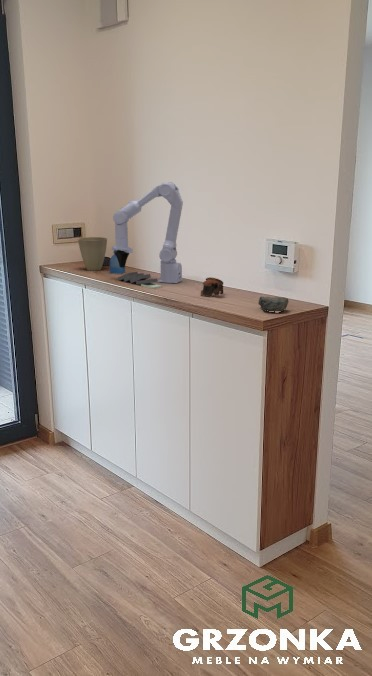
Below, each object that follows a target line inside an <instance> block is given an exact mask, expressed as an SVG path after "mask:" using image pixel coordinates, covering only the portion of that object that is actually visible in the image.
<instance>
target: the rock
mask: <svg viewBox="0 0 372 676" xmlns="http://www.w3.org/2000/svg"><path fill="white" fill-rule="evenodd" d="M258 305H259V306H260V309H261V308H262V309H261V310H263V311H264V310H268V311H274V312H275V311H283V310H284V309H285V310H286V308H287V306H288V305H289V299H288V298H287V297H283V296H282V297H281V296H277V297H276V296H275V297H270V296H260V297H259V299H258ZM285 310H284V311H285ZM284 311H283V312H284Z"/></svg>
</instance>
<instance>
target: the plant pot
mask: <svg viewBox="0 0 372 676" xmlns="http://www.w3.org/2000/svg"><path fill="white" fill-rule="evenodd" d="M77 243H78V246H79V252H80V255H81V258H82V261H83V264H84V266H85V268H86V270H87V271H100V270H102V267H103V264H104V261H105V257H106V251H107V245H108V244H107V243H108V237H103V236H99V237H98V236H88V237H79V238H78V239H77Z"/></svg>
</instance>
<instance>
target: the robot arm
mask: <svg viewBox="0 0 372 676" xmlns="http://www.w3.org/2000/svg"><path fill="white" fill-rule="evenodd" d="M160 197H163V199H166V200H167V202H168V203H169V204H170V210H169V214H168V215H169V217H168V222H167V227H166V232H165V233H166V234H165V238H164V242H163V244H162V248H161V250H160V251H159V253H158V254H159V259H160V279H159V280H158V279H157V282H156V283H168V284H177V283H181V282H183V266H182V264H181V262H177V260H176V257H177V255H178V252H177V238H178V232H179V228H180V227H179V226H180V220H181V215H182V210H183V206H184V205H183V203H184V202H183V199H182V196H181V194H180V189H179V188H178V186H176V184H175V183H174V182H169V181H168V182H165V181H164V182H162V183H161V184H159V185H157V186H155V187H154V188H152V189H151V190H150V191H148V192H147V193H146V194H144V195H143V196H142V197H141V198H139V199H138V200H129V201H128V203H127V204H126V205H125V206H124V207H121V208H120V210H117V211H115V213H113V216H112V219H113V222H114V237H115V240H114V241H115V243H114V245H111V251H114V250H116V251H117V252H115V255H116V257H117V259H118V262H119V266H120V267H121V268H122V267H125V268H126V264H127V260H128V257H129V255H130V254H132V253H133V248H132V247H129V242H128V241H129V235H128V234H129V233H128V232H129V231H128V222H129V220H130V219H132V218H133V217H135V216H136V215H137V214H139V213H140V212H141V211H142V209H143V208H142V207H144V206H145V205H147V204H148V203H150V202H151V201H153V200H155V198H160Z"/></svg>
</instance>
